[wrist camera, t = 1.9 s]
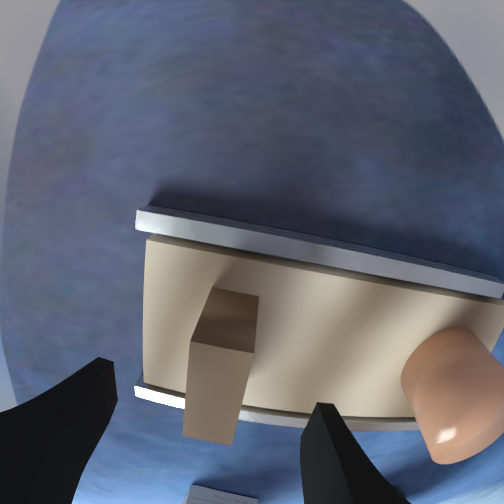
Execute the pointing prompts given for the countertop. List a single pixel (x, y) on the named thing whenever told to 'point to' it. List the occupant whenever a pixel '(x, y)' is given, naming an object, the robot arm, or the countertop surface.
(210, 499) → the skincare box
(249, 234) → the guide rails
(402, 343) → the beige board with block
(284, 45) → the countertop surface
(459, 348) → the tan rounded piece
